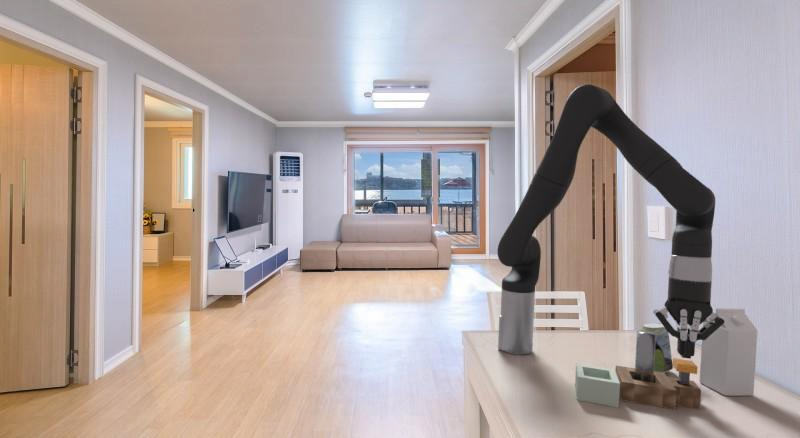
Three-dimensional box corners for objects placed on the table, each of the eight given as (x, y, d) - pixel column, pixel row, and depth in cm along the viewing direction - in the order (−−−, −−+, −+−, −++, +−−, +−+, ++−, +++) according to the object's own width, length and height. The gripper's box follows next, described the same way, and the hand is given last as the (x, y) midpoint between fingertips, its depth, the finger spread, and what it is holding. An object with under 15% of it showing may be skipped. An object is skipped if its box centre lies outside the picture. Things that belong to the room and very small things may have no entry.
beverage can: (676, 376, 103) (679, 329, 102) (644, 373, 104) (647, 326, 104) (666, 367, 109) (668, 322, 109) (635, 364, 110) (638, 319, 110)
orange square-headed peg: (675, 389, 88) (677, 363, 88) (671, 383, 91) (672, 358, 91) (695, 392, 87) (697, 366, 87) (690, 386, 90) (692, 360, 90)
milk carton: (699, 382, 100) (703, 304, 99) (726, 382, 100) (731, 305, 100) (724, 396, 93) (729, 312, 92) (753, 396, 93) (759, 312, 93)
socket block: (621, 400, 89) (622, 381, 89) (614, 382, 98) (615, 365, 98) (704, 414, 84) (705, 395, 84) (689, 394, 93) (690, 376, 93)
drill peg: (635, 396, 91) (638, 333, 90) (632, 390, 94) (635, 329, 94) (654, 399, 90) (657, 336, 89) (650, 393, 93) (653, 331, 92)
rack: (576, 399, 88) (577, 376, 88) (575, 384, 96) (576, 363, 96) (618, 407, 86) (619, 383, 85) (613, 391, 93) (614, 369, 93)
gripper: (658, 276, 87) (654, 358, 88) (734, 282, 83) (729, 368, 83) (650, 272, 94) (646, 347, 95) (720, 277, 90) (716, 356, 90)
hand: (685, 357), depth 89 cm, fingers closed
